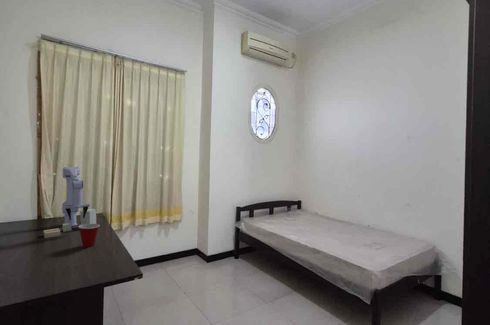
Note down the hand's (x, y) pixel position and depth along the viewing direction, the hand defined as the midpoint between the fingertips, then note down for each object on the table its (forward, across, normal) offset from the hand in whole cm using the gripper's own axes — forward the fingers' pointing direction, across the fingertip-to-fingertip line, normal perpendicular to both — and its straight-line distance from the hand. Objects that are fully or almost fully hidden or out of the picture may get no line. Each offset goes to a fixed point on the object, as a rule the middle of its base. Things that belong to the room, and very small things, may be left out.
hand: (77, 218), depth 169 cm
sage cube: (+10, -4, +13) cm, 17 cm away
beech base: (+10, -13, +6) cm, 17 cm away
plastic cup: (+10, +3, -30) cm, 32 cm away
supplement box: (+10, +8, +14) cm, 19 cm away
